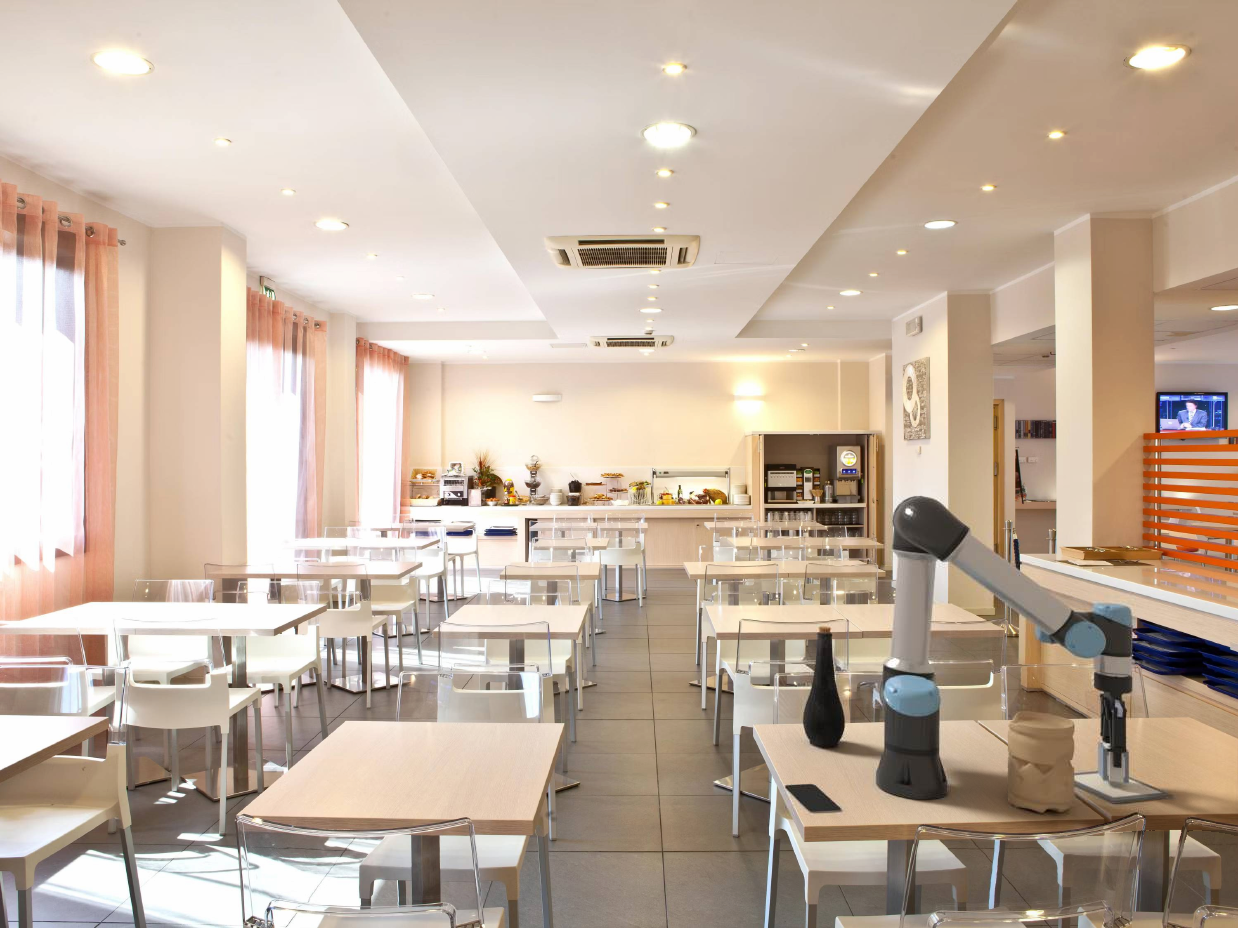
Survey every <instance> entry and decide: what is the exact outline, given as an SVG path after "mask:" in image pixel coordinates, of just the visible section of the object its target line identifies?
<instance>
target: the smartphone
mask: <svg viewBox="0 0 1238 928" xmlns="http://www.w3.org/2000/svg"><path fill="white" fill-rule="evenodd" d="M784 789H785V790H786V791H787V792H788V793H789V794H790V795H791V796H792V797H793V798H794V799H795V800H796V801H797V802H798V803H799V804H800V805H801V806H802V807H803V809H805V810H806V811H807V812H808V813H810V814H818V813H819V814H822V813H823V814H824V813H839V812H841V811H842V808H841V807H840V806H839V805H838V804H837V803H836V802H835V801H833V800H832V798H830V797H829V796H828V795H827V794H826V793H825V792H824V791H823V790H821V789H820V788H819V787H818V786H817V785H816V784H812V783H805V784H804V783H803V784H801V783H800V784H799V783H798V784H786V785H784Z"/></svg>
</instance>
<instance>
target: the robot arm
mask: <svg viewBox="0 0 1238 928" xmlns="http://www.w3.org/2000/svg"><path fill="white" fill-rule="evenodd" d="M892 528H893V534H892V535H893V536H892V548H891V550H892V552H893V553H894V554H895V555H896V557H897V569H896V580H895V595H894V608H893V618H892V619H893V620H892V621H893V622H892V633H891V644H890V645H891V647H890V655H889V657H888V658H886V659H885V660H884V661H883V664H882V665H883V666H882V677H881V681H880V684H879V687H878V688H879V689H878V691H879V693H878V694H879V696H878V697H879V700H880V703H881V705H882V709H883V716H884V717H883V719H884V724H883V726H884V727H883V729H884V731H883V734H884V735H883V736H884V738H883V740H884V742H883V743H884V744H883V746H884V747H883V751H882V754H881V757H880V759H879V763H878V766H877V768H876V771H875V784H876V786H877V787H878V788H879V789H881V790H882V791H884V792H886V793H889V794H891V795H894V796H898V797H902V798H908V799H916V800H935V799H936V800H937V799H940V798H944V797H945V796H946V795H947V794H948V791H949V790H948V788H949V787H948V786H949V785H948V783H949V782H948V778H947V775H946V772H945V769H944V766H943V763H942V760H941V755H940V718H941V717H940V712H941V711H940V708H941V707H940V706H941V700H942V699H941V696H940V695H941V694H940V689H939V687H938V685H937V684H936V683H935V682H934V681H935V668H934V667H933V666H932V665H931V664H930V662H929V657H930V655H929V654H930V644H931V643H930V641H931V633H932V632H931V630H932V619H933V618H932V617H933V616H932V615H933V605H934V604H933V603H934V593H935V591H934V590H935V578H936V577H935V576H936V565H937V561H938V560H939V561H940V562H941V563H950V564H952V565H954V567H955V568H957V569H958V570H960V571H961V572H962V573H964V574H966V576H968V577H969V578H970V579H972V580H973V581H975V582H976V583H978V584H979V586H981V587H982V588H984V589H985V590H987V591H988V592H989V593H990V594H992V595H994V596H995V597H996V598H998V599H999V600H1000V601H1002V602H1003V603H1005V605H1007V606H1008V607H1010V608H1011V609H1013V611H1015V612H1017V613H1018V614H1019V615H1021V616H1022V617H1023V618H1025V620H1027V621H1029V622H1030V623H1031V624H1032V625H1034V630H1035V631H1034V632H1035V635H1036V636H1035V637H1036V639H1037V640H1038V641H1039V642H1040V643H1042V644H1043V643H1044V644H1050V645H1055V644H1057V645H1060V646H1061V647H1063V649H1065V650H1067V651H1068V652H1069V653H1071V654H1072V655H1073V656H1075V657H1078V658H1082V659H1093V662H1092V663H1093V664H1092V666H1093V670H1094V671H1095V672H1093V689H1095V690H1098V691H1099V692H1103V693H1100V694H1099V697H1100V698H1099V701H1100V733H1099V734H1100V737H1101V740H1102V743H1110V749H1107V752H1109V781H1115V782H1124V753H1126V751H1127V750H1128V748H1127V712H1128V710H1127V707H1126V702H1125V701H1124V700H1123V695H1124V694H1125V695H1128V694H1132V692H1133V677H1132V675H1131V674H1132V673H1133V664H1136V660H1135V659H1133V629H1134V626H1133V625H1134V624H1133V614H1132V609H1131V608H1130V607H1129V606H1127V605H1125V604H1120V603H1111V602H1110V603H1109V602H1098V603H1095V604H1093V609H1092V611H1075V610H1073V609H1072V608H1071V607H1070V606H1069V605H1067V604H1066V603H1064V602H1063V601H1062V600H1060V599H1059V598H1058V597H1056V596H1055V595H1054V594H1052V593H1051V592H1049V591H1048V590H1047V589H1045V588H1044V587H1043V586H1041V585H1040V584H1038V583H1037V581H1035V580H1033V579H1032V578H1031V577H1029V576H1028V575H1026V574H1025V573H1024V572H1022V571H1021V570H1020V569H1019V568H1017V567H1015V566H1014V565H1013V564H1011V563H1010V562H1008V561H1007V560H1006V559H1005V558H1003V557H1002V556H1000V555H999V554H998V553H997V552H995V551H994V550H992V549H991V548H990V547H989V546H987V545H986V544H985V543H983V542H981V541H980V540H978V538H976V537H975V536H973V535H972V529H971V528H970V527H969V526H967V525H966V524H965V523H963V522H962V521H961V520H960V519H958V517H956V516H955V515H954V514H953V513H952V512H951V511H950V509H948V508H947V507H946V506H945V505H944V504H943V503H942V502H940V501H939V500H938V499H936V498H932V497H929V496H923V495H913V496H909V497H908V498H905V499H903V500H902V501H901V502H900V503H898V505H897V506H896V508H895V509H894V511H893V514H892Z"/></svg>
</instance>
